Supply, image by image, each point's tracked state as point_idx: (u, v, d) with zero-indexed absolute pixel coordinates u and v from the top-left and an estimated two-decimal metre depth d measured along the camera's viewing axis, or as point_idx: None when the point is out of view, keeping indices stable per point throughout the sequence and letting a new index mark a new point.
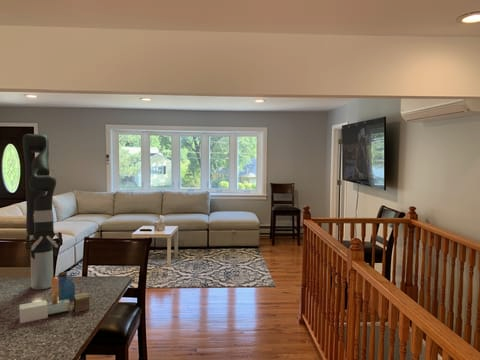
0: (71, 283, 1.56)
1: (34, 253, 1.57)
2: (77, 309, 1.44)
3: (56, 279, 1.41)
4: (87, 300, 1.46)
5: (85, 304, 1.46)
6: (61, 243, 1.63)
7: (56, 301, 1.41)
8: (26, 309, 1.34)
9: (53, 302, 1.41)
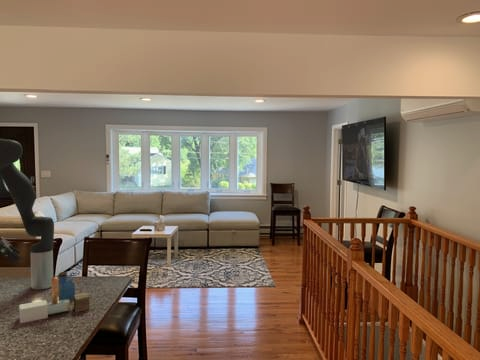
0: (71, 283, 1.56)
1: None
2: (77, 309, 1.44)
3: (56, 279, 1.41)
4: (87, 300, 1.46)
5: (85, 304, 1.46)
6: (3, 254, 1.26)
7: (56, 301, 1.41)
8: (26, 309, 1.34)
9: (53, 302, 1.41)
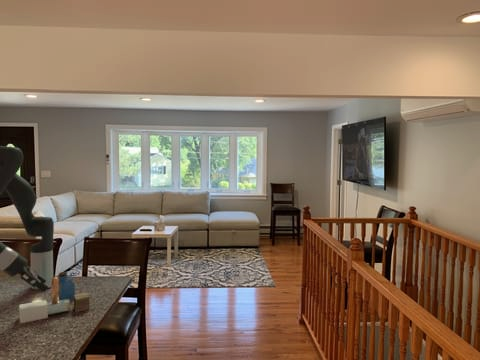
0: (71, 283, 1.56)
1: None
2: (77, 309, 1.44)
3: (56, 279, 1.41)
4: (87, 300, 1.46)
5: (85, 304, 1.46)
6: (32, 285, 1.31)
7: (56, 301, 1.41)
8: (26, 309, 1.34)
9: (53, 302, 1.41)
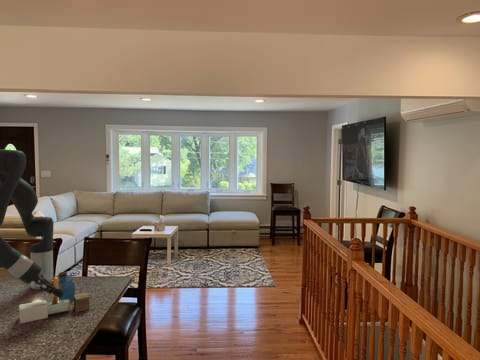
0: (71, 283, 1.56)
1: None
2: (77, 309, 1.44)
3: (56, 279, 1.41)
4: (87, 300, 1.46)
5: (85, 304, 1.46)
6: (48, 292, 1.37)
7: (56, 301, 1.41)
8: (26, 309, 1.34)
9: (53, 302, 1.41)
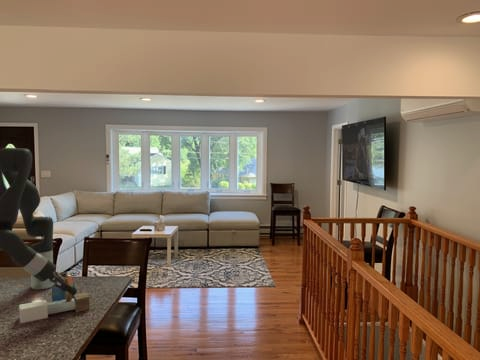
0: None
1: None
2: (77, 309, 1.44)
3: (70, 277, 1.43)
4: (87, 300, 1.46)
5: (85, 304, 1.46)
6: (63, 290, 1.40)
7: (70, 298, 1.44)
8: (26, 309, 1.34)
9: (67, 299, 1.43)
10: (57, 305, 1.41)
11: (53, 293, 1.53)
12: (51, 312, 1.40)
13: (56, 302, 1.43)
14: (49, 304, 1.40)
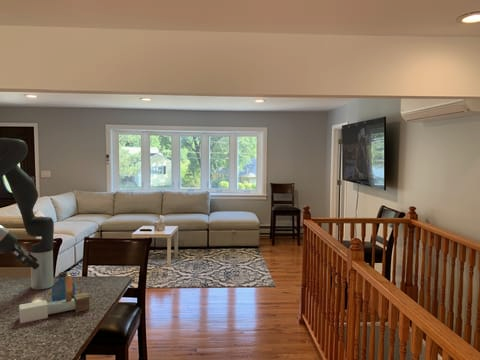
0: None
1: None
2: (77, 309, 1.44)
3: (70, 277, 1.43)
4: (87, 300, 1.46)
5: (85, 304, 1.46)
6: (23, 262, 1.29)
7: (70, 298, 1.44)
8: (26, 309, 1.34)
9: (67, 299, 1.43)
10: (57, 305, 1.41)
11: (53, 293, 1.53)
12: (51, 312, 1.40)
13: (56, 302, 1.43)
14: (49, 304, 1.40)
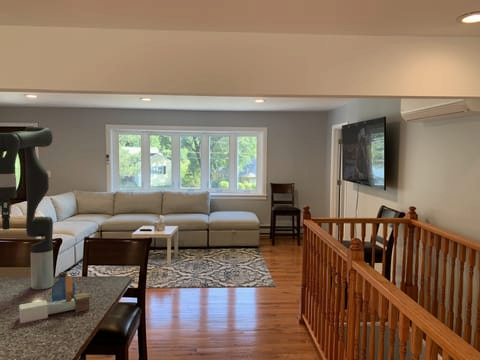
0: None
1: (2, 220, 1.42)
2: (77, 309, 1.44)
3: (70, 277, 1.43)
4: (87, 300, 1.46)
5: (85, 304, 1.46)
6: (1, 216, 1.33)
7: (70, 298, 1.44)
8: (26, 309, 1.34)
9: (67, 299, 1.43)
10: (57, 305, 1.41)
11: (53, 293, 1.53)
12: (51, 312, 1.40)
13: (56, 302, 1.43)
14: (49, 304, 1.40)
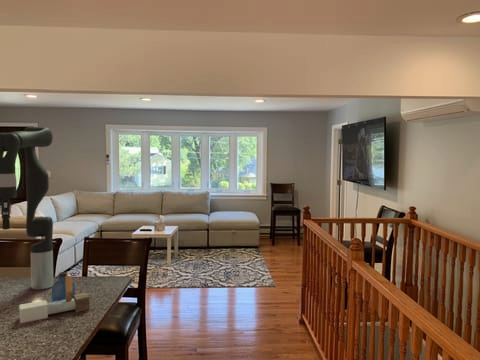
0: None
1: None
2: (77, 309, 1.44)
3: (70, 277, 1.43)
4: (87, 300, 1.46)
5: (85, 304, 1.46)
6: None
7: (70, 298, 1.44)
8: (26, 309, 1.34)
9: (67, 299, 1.43)
10: (57, 305, 1.41)
11: (53, 293, 1.53)
12: (51, 312, 1.40)
13: (56, 302, 1.43)
14: (49, 304, 1.40)
